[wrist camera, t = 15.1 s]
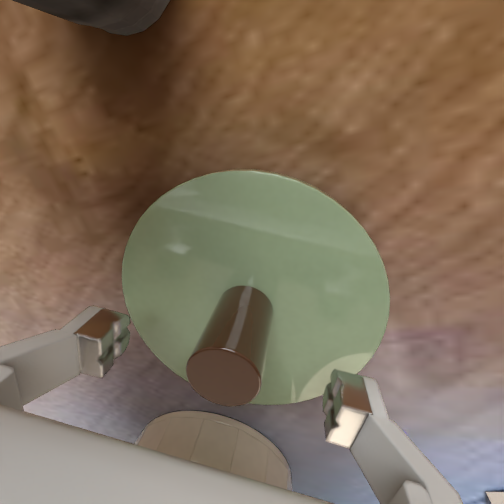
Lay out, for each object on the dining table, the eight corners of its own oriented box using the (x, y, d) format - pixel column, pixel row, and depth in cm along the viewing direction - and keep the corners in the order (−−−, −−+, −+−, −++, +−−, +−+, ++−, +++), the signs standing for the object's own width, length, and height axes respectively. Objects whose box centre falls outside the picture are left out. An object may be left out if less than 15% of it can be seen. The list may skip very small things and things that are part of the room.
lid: (136, 139, 12) (23, 141, 7) (432, 204, 11) (533, 258, 6) (133, 353, 17) (68, 438, 12) (334, 411, 16) (347, 528, 11)
